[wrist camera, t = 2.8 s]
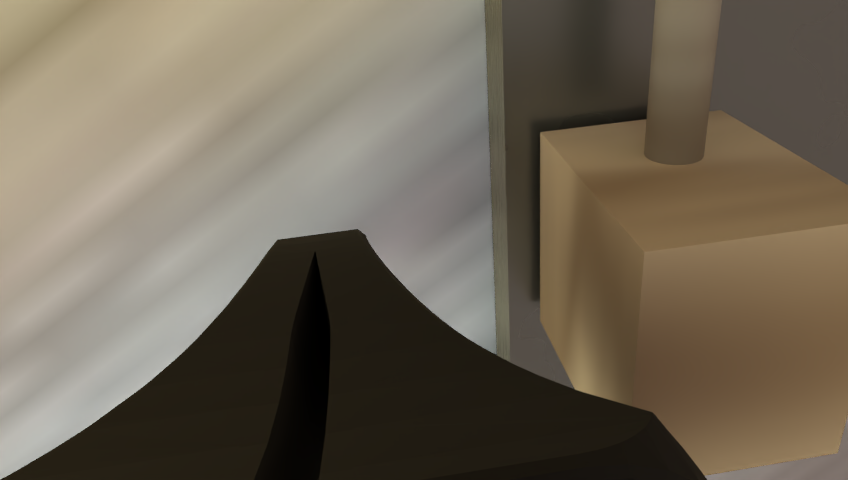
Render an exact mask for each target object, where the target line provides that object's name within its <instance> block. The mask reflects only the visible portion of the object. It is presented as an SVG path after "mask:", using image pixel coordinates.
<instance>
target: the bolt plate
mask: <svg viewBox="0 0 848 480" xmlns="http://www.w3.org/2000/svg"><path fill="white" fill-rule="evenodd" d="M654 13H655V0H485V23H486V52H487V81H488V110H489V139H490V168H491V197H492V227H493V256H494V285H495V314H496V343H497V356H499V357H501V358H503V359H505V360H507V361H509V362H511V363H513V364H515V365H517V366H519V367H521V368H523V369H526V370H528V371H530V372H532V373H535V374H537V375H539V376H542V377H544V378H547V379H549V380H552V381H555V382H557V383H560V384H562V385H565V386H567V387H570V388H573V389H574V387H573V385H572V383H571V381H570V379H569V377H568V375H567V373H566V371H565V369H564V367H563V365H562V363H561V361H560V359H559V357H558V355H557V353H556V351H555V349H554V347H553V345H552V343H551V341H550V339H549V337H548V335H547V333H546V331H545V329H544V327H543V325H542V323H541V321H540V132H546V131H554V130H562V129H570V128H579V127H587V126H595V125H603V124H611V123H620V122H628V121H636V120H644V119H647V107H648V94H649V80H650V67H651V54H652V40H653V27H654ZM718 110H722V111H723V112H725V113H727V114H728V115H730V116H732V117H733V118H735V119H737V120H739V121H740V122H742V123H744V124H745V125H747V126H749V127H750V128H752V129H754V130H755V131H757V132H759V133H761V134H762V135H764V136H766V137H767V138H769V139H771V140H772V141H774V142H776V143H777V144H779V145H781V146H783V147H784V148H786V149H788V150H789V151H791V152H793V153H794V154H796V155H798V156H799V157H801V158H803V159H804V160H806V161H808V162H810V163H811V164H813V165H815V166H816V167H818V168H820V169H821V170H823V171H825V172H826V173H828V174H830V175H832V176H833V177H835V178H837V179H838V180H840V181H842V182H843V183H845V184H847V185H848V0H722V5H721V14H720V22H719V31H718V40H717V48H716V57H715V65H714V74H713V82H712V91H711V99H710V108H709V111H718Z"/></svg>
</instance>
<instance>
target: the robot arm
mask: <svg viewBox="0 0 848 480" xmlns="http://www.w3.org/2000/svg"><path fill="white" fill-rule="evenodd" d="M1 480H707V479H706V478H705V476H704V475H703V473H702V472H701V470H700V469H699V468H698V466H697V465H696V464H695V462H694V461H693V460H692V459H691V457H690V456H689V455H688V453H687V452H686V451H685V450H684V448H683V447H682V446H681V445H680V444H679V442H678V441H677V440H676V439H675V438H674V437H673V436H672V434H671V433H670V432H669V431H668V430H667V429H666V427H665V426H664V425H663V424H662V423H661V421H660V420H659V419H658V418H657V416H656V415H655V414H654V413H653V412H650V411H647V410H643V409H640V408H636V407H633V406H629V405H626V404H622V403H619V402H616V401H612V400H609V399H605V398H602V397H598V396H595V395H591V394H588V393H584V392H581V391H578V390H575V389H573V388H570V387H567V386H565V385H562V384H560V383H557V382H555V381H552V380H549V379H547V378H544V377H542V376H539V375H537V374H535V373H532V372H530V371H528V370H526V369H523V368H521V367H519V366H517V365H515V364H513V363H511V362H509V361H507V360H505V359H503V358H501V357H499V356H497V355H495V354H494V353H492V352H490V351H488V350H486V349H484V348H482V347H481V346H479V345H477V344H475V343H474V342H472V341H470V340H469V339H467V338H466V337H464V336H463V335H461V334H460V333H458V332H457V331H456V330H454V329H453V328H451V327H450V326H449V325H447V324H446V323H445V322H443V321H442V320H441V319H440V318H439V317H437V316H436V315H435V314H434V313H432V312H431V311H430V310H429V309H428V308H427V307H426V306H425V305H423V304H422V303H421V302H420V301H419V300H418V299H417V298H416V297H415V296H414V295H413V294H412V293H411V292H409V291H408V290H407V289H406V287H405V286H404V285H403V284H402V283H401V282H400V281H399V280H398V279H397V278H396V277H395V276H394V275H393V274H392V272H391V271H390V270H389V269H388V268H387V267H386V265H385V264H384V263H383V262H382V260H381V259H380V258H379V257H378V255H377V254H376V253H375V251H374V250H373V248H372V247H371V245H370V244H369V242H368V240H367V238H366V235H365V234H363V233H362V232H361V231H359V230H358V229H356V230H348V231H341V232H333V233H326V234H318V235H310V236H303V237H295V238H288V239H280V240H277V241H276V242H275V244H274V245H273V246H272V247H271V249H270V250H269V251H268V252H267V254H266V255H265V257H264V258H263V259H262V261H261V262H260V264H259V265H258V266H257V268H256V269H255V270H254V272H253V273H252V274H251V276H250V277H249V278H248V280H247V281H246V283H245V284H244V285H243V286H242V288H241V289H240V290H239V291H238V293H237V294H236V295H235V296H234V298H233V299H232V300H231V301H230V303H229V304H228V305H227V306H226V308H225V309H224V310H223V311H222V312H221V313H220V314H219V315H218V317H217V318H216V319H215V320H214V321H213V322H212V323H211V324H210V325H209V326H208V328H207V329H206V330H205V331H204V332H203V333H202V334H201V335H200V336H199V337H198V338H197V339H196V340H195V341H194V342H193V343H192V344H191V345H190V346H189V347H188V348H187V349H186V350H185V351H184V352H183V353H182V354H181V355H180V356H179V357H178V358H177V359H175V360H174V361H173V362H172V363H171V364H170V365H169V366H167V367H166V368H165V369H164V370H163V371H162V372H160V373H159V374H158V375H157V376H156V377H155V378H154V379H152V380H151V381H150V382H149V383H147V384H146V385H145V386H144V387H142V388H141V389H140V390H138V391H137V392H136V393H134V394H133V395H132V396H130V397H129V398H127V399H126V400H125V401H123V402H122V403H121V404H119V405H118V406H116V407H115V408H114V409H112V410H111V411H110V412H108V413H107V414H106V415H104V416H103V417H101V418H100V419H99V420H97V421H96V422H95V423H93V424H92V425H90V426H89V427H87V428H86V429H84V430H83V431H81V432H80V433H78V434H77V435H75V436H74V437H72V438H70V439H69V440H67V441H66V442H64V443H62V444H61V445H59V446H58V447H56V448H55V449H53V450H51V451H50V452H48V453H46V454H45V455H43V456H41V457H39V458H38V459H36V460H34V461H33V462H31V463H29V464H28V465H26V466H24V467H22V468H21V469H19V470H17V471H16V472H14V473H12V474H10V475H8V476H7V477H5V478H3V479H1Z"/></svg>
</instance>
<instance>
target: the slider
mask: <svg viewBox="0 0 848 480" xmlns="http://www.w3.org/2000/svg"><path fill="white" fill-rule="evenodd" d="M721 5H722V0H655V13H654V27H653V40H652V54H651V67H650V80H649V94H648V107H647V119H644V120H636V121H628V122H620V123H611V124H603V125H595V126H587V127H579V128H570V129H562V130H554V131H546V132H540V321H541V323H542V325H543V327H544V329H545V331H546V333H547V335H548V337H549V339H550V341H551V343H552V345H553V347H554V349H555V351H556V353H557V355H558V357H559V359H560V361H561V363H562V365H563V367H564V369H565V371H566V373H567V375H568V377H569V379H570V381H571V383H572V385H573V387H574V389H575V390H578V391H581V392H584V393H588V394H591V395H595V396H598V397H602V398H605V399H609V400H612V401H616V402H619V403H622V404H626V405H629V406H633V407H636V408H640V409H643V410H647V411H650V412H653V413H654V414H655V415H656V416H657V418H658V419H659V420H660V421H661V423H662V424H663V425H664V426H665V427H666V429H667V430H668V431H669V432H670V433H671V434H672V436H673V437H674V438H675V439H676V440H677V441H678V442H679V444H680V445H681V446H682V447H683V448H684V450H685V451H686V452H687V453H688V455H689V456H690V457H691V459H692V460H693V461H694V462H695V464H696V465H697V466H698V468H699V469H700V470H701V472H702V473H703V475H704V476H705V475H711V474H717V473H723V472H729V471H735V470H740V469H746V468H752V467H758V466H764V465H770V464H776V463H782V462H788V461H794V460H799V459H805V458H811V457H817V456H823V455H829V454H835V453H838V449H839V446H840V442H841V438H842V434H843V431H844V427H845V423H846V420H847V416H848V185H847V184H845V183H843V182H842V181H840V180H838V179H837V178H835V177H833V176H832V175H830V174H828V173H826V172H825V171H823V170H821V169H820V168H818V167H816V166H815V165H813V164H811V163H810V162H808V161H806V160H804V159H803V158H801V157H799V156H798V155H796V154H794V153H793V152H791V151H789V150H788V149H786V148H784V147H783V146H781V145H779V144H777V143H776V142H774V141H772V140H771V139H769V138H767V137H766V136H764V135H762V134H761V133H759V132H757V131H755V130H754V129H752V128H750V127H749V126H747V125H745V124H744V123H742V122H740V121H739V120H737V119H735V118H733V117H732V116H730V115H728V114H727V113H725V112H723V111H722V110H718V111H709V108H710V99H711V91H712V82H713V74H714V65H715V57H716V48H717V40H718V31H719V22H720V14H721Z"/></svg>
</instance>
